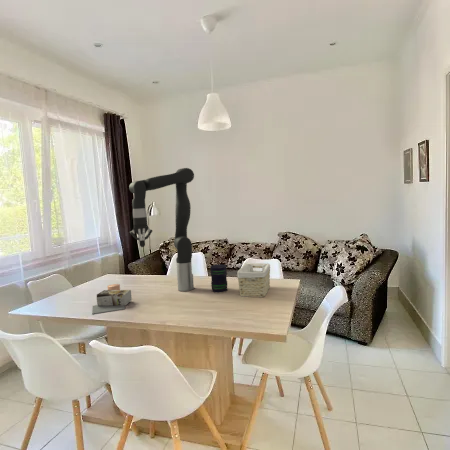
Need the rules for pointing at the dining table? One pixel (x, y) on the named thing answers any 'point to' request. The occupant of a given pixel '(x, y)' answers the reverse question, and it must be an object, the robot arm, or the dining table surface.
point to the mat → (106, 308)
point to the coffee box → (114, 297)
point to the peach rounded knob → (114, 287)
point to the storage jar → (218, 278)
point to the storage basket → (254, 280)
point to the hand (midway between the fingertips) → (142, 246)
